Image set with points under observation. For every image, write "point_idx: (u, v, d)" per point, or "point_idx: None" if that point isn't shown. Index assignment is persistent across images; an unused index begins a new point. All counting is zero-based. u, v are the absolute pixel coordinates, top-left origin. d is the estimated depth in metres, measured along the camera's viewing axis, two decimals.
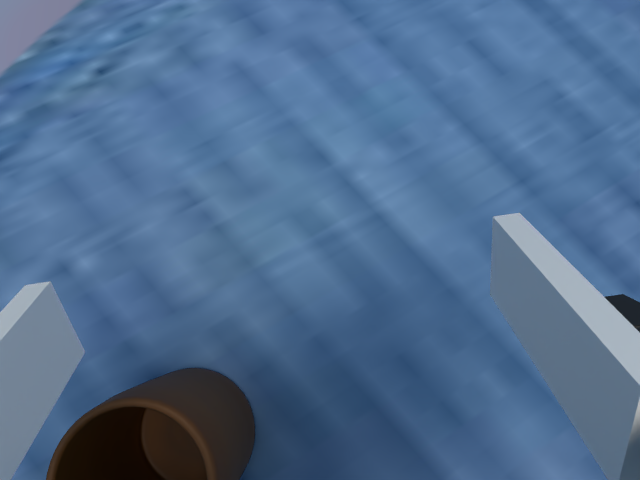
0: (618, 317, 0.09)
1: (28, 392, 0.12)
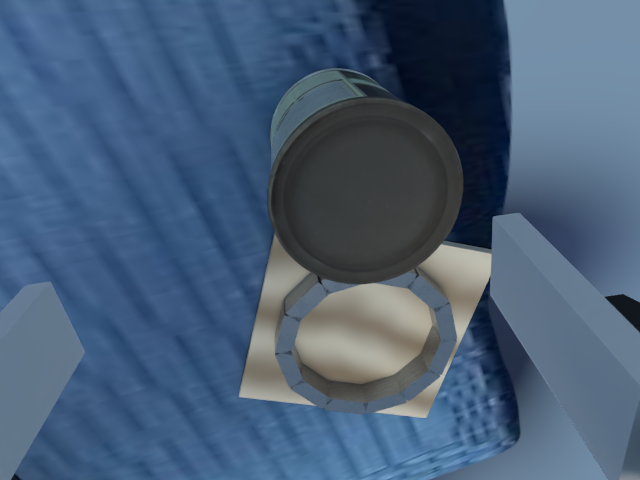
0: (618, 317, 0.09)
1: (28, 392, 0.12)
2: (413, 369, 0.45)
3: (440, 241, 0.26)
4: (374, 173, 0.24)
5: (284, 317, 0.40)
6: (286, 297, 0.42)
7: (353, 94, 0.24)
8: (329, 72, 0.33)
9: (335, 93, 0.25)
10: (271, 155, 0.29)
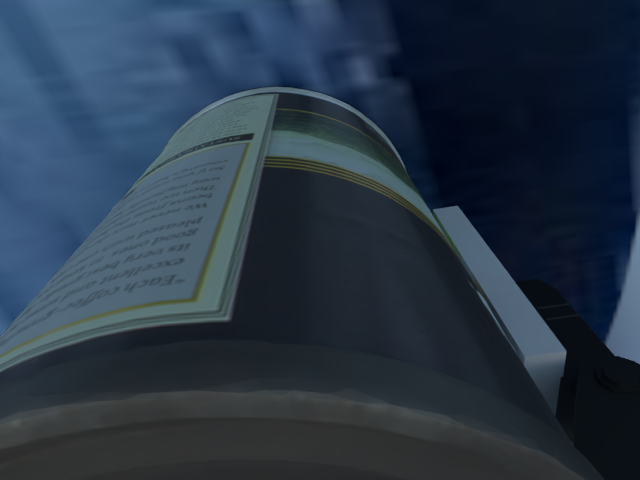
0: (521, 297, 0.10)
1: None
2: None
3: None
4: None
5: None
6: None
7: (191, 271, 0.05)
8: (254, 99, 0.15)
9: (157, 231, 0.07)
10: None
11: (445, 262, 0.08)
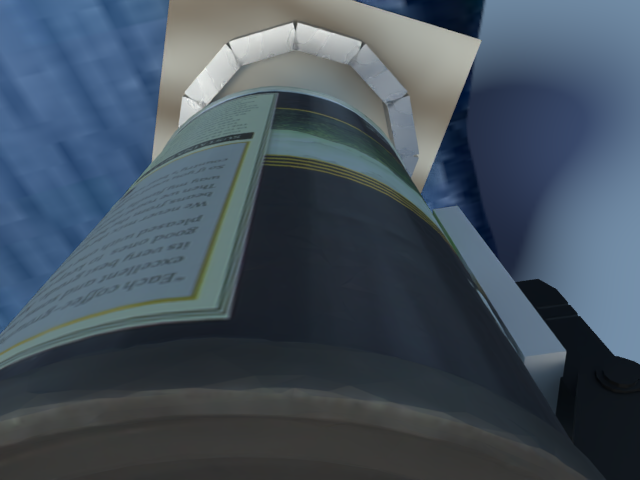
0: (520, 297, 0.10)
1: None
2: None
3: None
4: None
5: (183, 99, 0.30)
6: None
7: (190, 269, 0.05)
8: (254, 99, 0.15)
9: (156, 230, 0.07)
10: None
11: (445, 261, 0.08)
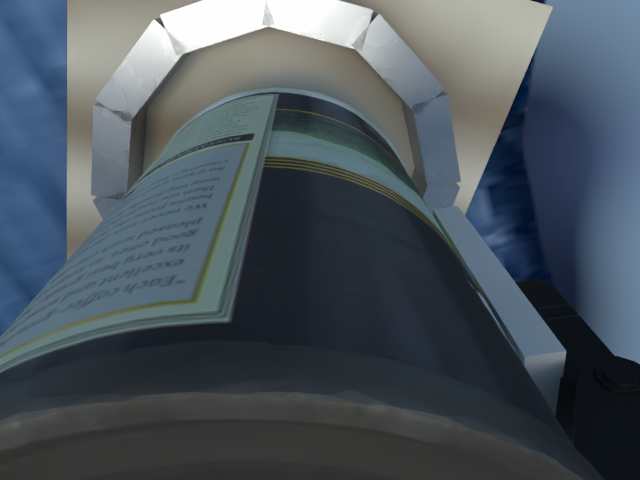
0: (520, 297, 0.10)
1: None
2: None
3: None
4: None
5: (95, 110, 0.19)
6: None
7: (191, 272, 0.05)
8: (254, 100, 0.15)
9: (157, 232, 0.07)
10: None
11: (445, 263, 0.08)
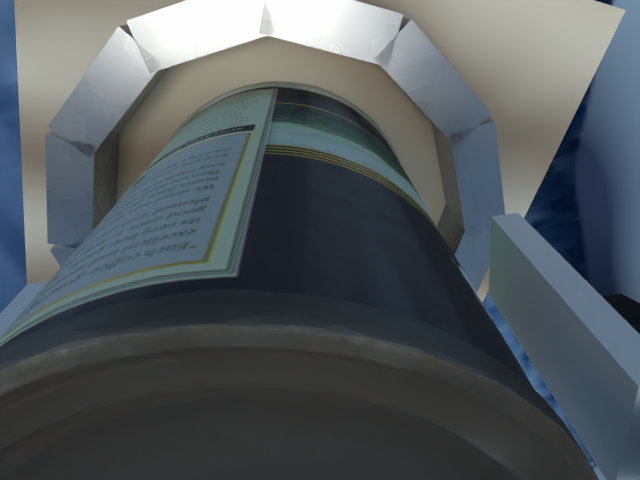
0: (615, 317, 0.09)
1: None
2: None
3: None
4: None
5: (48, 141, 0.15)
6: None
7: (202, 239, 0.06)
8: (255, 94, 0.15)
9: (170, 208, 0.08)
10: None
11: (429, 239, 0.09)
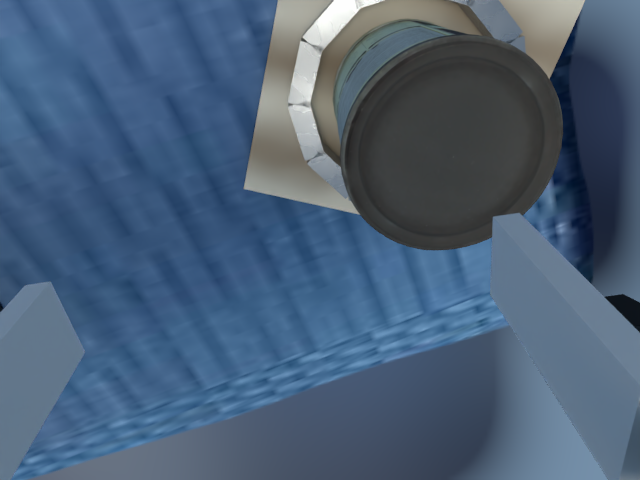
0: (618, 317, 0.09)
1: (28, 392, 0.12)
2: None
3: (529, 205, 0.23)
4: (462, 124, 0.21)
5: (300, 44, 0.30)
6: (305, 31, 0.32)
7: (441, 34, 0.21)
8: (402, 22, 0.31)
9: (419, 35, 0.23)
10: (339, 108, 0.27)
11: None
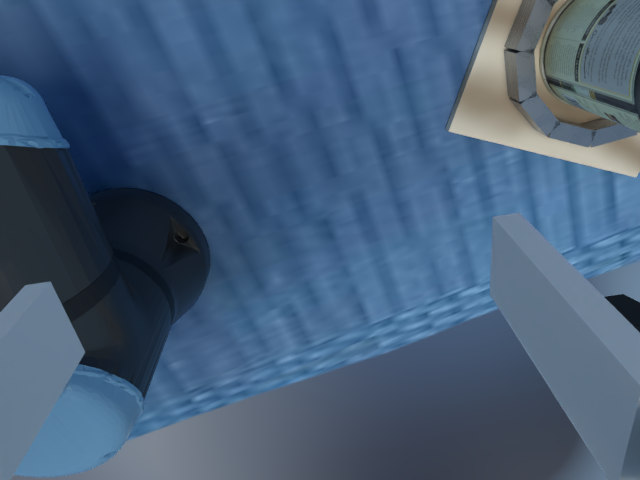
0: (618, 317, 0.09)
1: (28, 392, 0.12)
2: None
3: None
4: None
5: None
6: None
7: None
8: None
9: None
10: (595, 46, 0.33)
11: None
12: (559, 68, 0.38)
